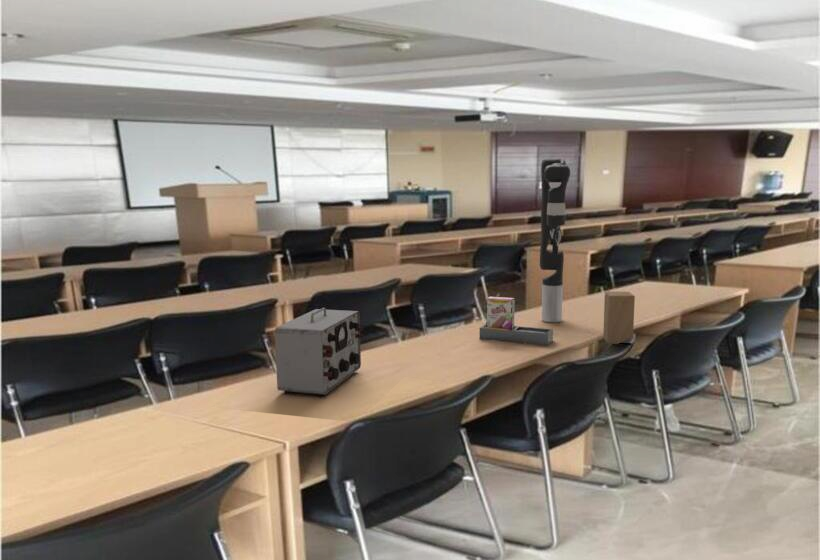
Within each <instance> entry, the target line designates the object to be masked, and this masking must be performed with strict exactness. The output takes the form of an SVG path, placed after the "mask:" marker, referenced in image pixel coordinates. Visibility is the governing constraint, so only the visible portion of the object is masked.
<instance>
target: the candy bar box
mask: <svg viewBox="0 0 820 560" xmlns="http://www.w3.org/2000/svg"><path fill="white" fill-rule="evenodd" d="M515 299H516V298H514V297H503V296H501V297H500V296H488V297H487V298H486V307H485V308H486V311H485V313H486V317H485V318H486V320H485V324H486V327H493V328H504V329H509V330H513V329H514V326H515V306H516V305H515V304H516V303H515V301H516V300H515Z"/></svg>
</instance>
